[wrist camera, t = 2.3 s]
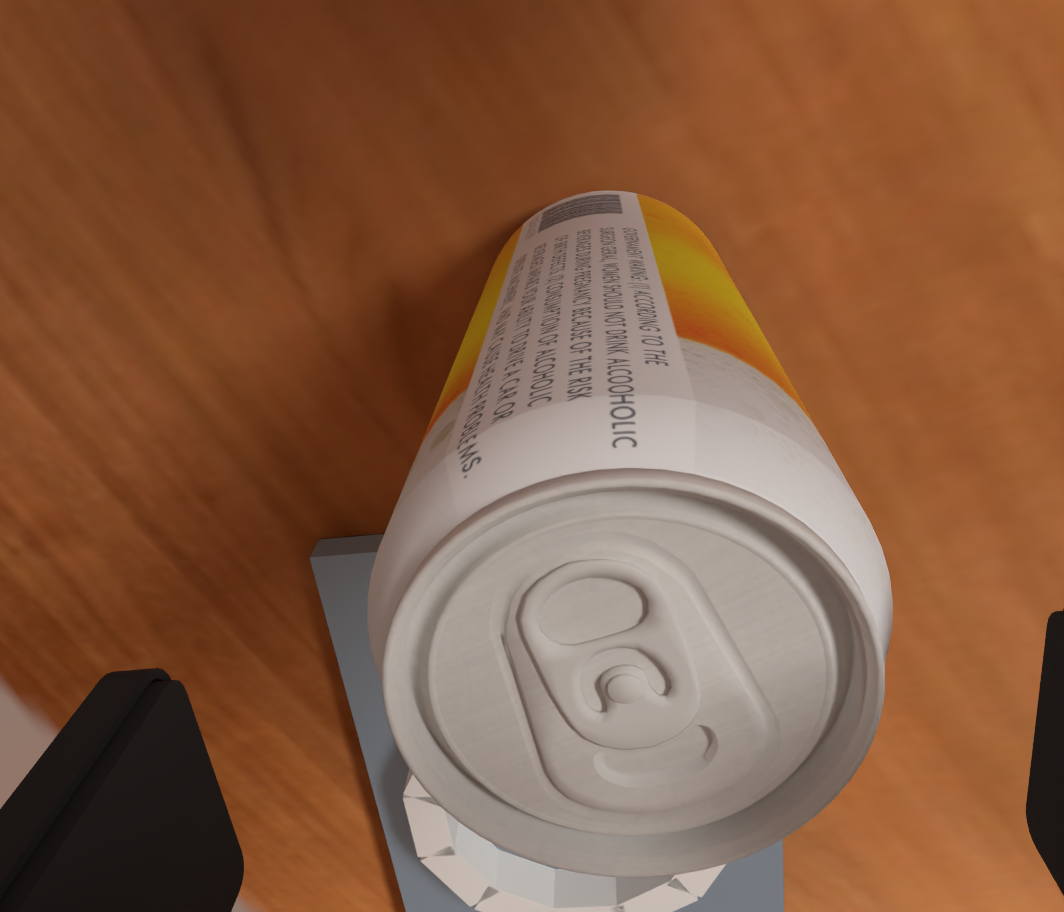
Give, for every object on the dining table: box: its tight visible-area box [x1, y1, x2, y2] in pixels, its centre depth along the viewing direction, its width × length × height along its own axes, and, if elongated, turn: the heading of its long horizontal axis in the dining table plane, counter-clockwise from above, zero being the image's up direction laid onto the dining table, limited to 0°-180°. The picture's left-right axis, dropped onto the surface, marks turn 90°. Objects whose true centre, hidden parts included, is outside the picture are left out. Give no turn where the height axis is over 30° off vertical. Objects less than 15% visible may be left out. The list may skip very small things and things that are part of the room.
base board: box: [309, 534, 784, 912], centre depth 28 cm, size 16×13×2 cm
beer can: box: [367, 190, 893, 878], centre depth 16 cm, size 6×6×15 cm
